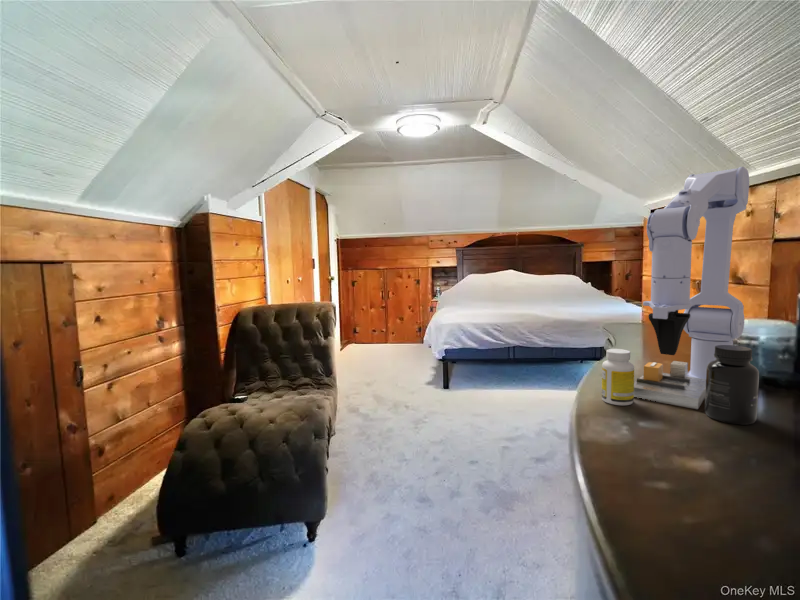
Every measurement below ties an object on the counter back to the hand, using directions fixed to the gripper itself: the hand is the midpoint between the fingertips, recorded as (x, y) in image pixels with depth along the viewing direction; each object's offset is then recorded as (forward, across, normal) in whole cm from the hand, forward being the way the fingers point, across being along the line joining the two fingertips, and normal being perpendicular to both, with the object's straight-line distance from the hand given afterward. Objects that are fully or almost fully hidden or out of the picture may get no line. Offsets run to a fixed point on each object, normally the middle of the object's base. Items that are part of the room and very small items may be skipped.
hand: (668, 353), depth 73 cm
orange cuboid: (+8, -10, -4) cm, 13 cm away
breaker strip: (+10, -10, -1) cm, 14 cm away
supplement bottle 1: (+10, +2, -8) cm, 13 cm away
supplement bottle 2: (+10, -2, +9) cm, 14 cm away
